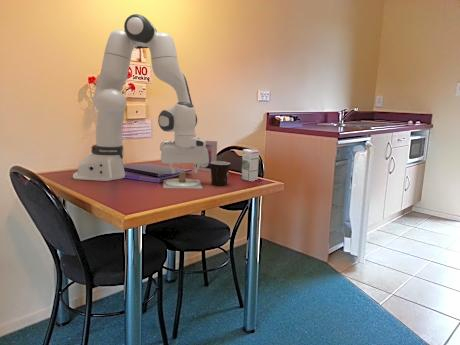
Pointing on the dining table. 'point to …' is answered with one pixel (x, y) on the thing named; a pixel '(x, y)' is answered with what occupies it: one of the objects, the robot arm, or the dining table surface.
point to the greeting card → (212, 156)
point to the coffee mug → (219, 172)
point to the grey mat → (181, 187)
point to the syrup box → (250, 165)
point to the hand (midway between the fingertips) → (184, 173)
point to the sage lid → (182, 181)
